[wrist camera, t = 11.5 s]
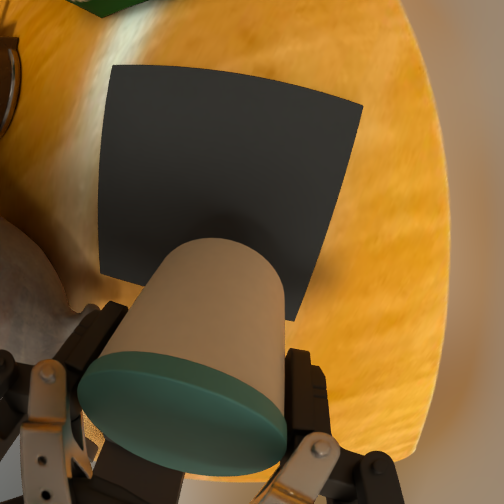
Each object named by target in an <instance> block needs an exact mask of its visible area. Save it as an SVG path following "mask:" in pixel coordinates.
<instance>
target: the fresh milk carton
mask: <svg viewBox="0 0 504 504" xmlns="http://www.w3.org/2000/svg"><path fill="white" fill-rule="evenodd" d="M66 1H68V2H70V3H73V4H75V5H77V6H79V7H81V8H83V9H85V10H87V11H89V12H91V13H93V14H95V15H97V16H98V17H100V18H103V17H106V16H108V15H110V14H113V13H115V12H118V11H120V10H123V9H125V8H128V7H131V6H133V5H136V4H139V3H142V2H145V1H148V0H66Z"/></svg>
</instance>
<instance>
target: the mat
mask: <svg viewBox="0 0 504 504" xmlns="http://www.w3.org/2000/svg"><path fill="white" fill-rule="evenodd" d="M362 110H363V105H360V104H357V103H354V102H352V101H349V100H345V99H342V98H339V97H336V96H333V95H330V94H326V93H323V92H319V91H316V90H312V89H308V88H305V87H301V86H297V85H293V84H288V83H284V82H280V81H275V80H270V79H266V78H261V77H255V76H250V75H244V74H238V73H232V72H225V71H217V70H209V69H200V68H190V67H178V66H160V65H113V66H112V70H111V75H110V80H109V86H108V92H107V98H106V105H105V112H104V120H103V129H102V138H101V149H100V163H99V183H98V241H99V261H100V273H101V274H103V275H107V276H110V277H113V278H117V279H120V280H124V281H127V282H131V283H134V284H138V285H141V286H146V284H147V283H148V282H149V280H150V279H151V277H152V276H153V274H154V273H155V272H156V270H157V269H158V267H159V266H160V265H161V263H162V262H163V260H164V259H165V258H166V257H167V256H168V254H169V253H170V252H171V251H173V250H174V249H176V248H177V247H179V246H180V245H182V244H184V243H187V242H190V241H192V240H197V239H202V238H221V239H227V240H232V241H235V242H238V243H241V244H243V245H245V246H248V247H249V248H251V249H253V250H255V251H256V252H257V253H259V254H260V255H261V256H263V257H264V258H265V259H266V260H267V261H268V262H269V263H270V264H271V265H272V267H273V268H274V269H275V271H276V272H277V274H278V276H279V278H280V280H281V283H282V285H283V290H284V299H285V320H289V321H295V318H296V316H297V313H298V310H299V308H300V305H301V303H302V300H303V297H304V295H305V292H306V289H307V287H308V284H309V281H310V278H311V276H312V273H313V270H314V267H315V265H316V262H317V259H318V256H319V253H320V250H321V247H322V244H323V242H324V239H325V236H326V233H327V230H328V227H329V224H330V221H331V217H332V214H333V211H334V208H335V205H336V202H337V199H338V195H339V192H340V189H341V186H342V182H343V179H344V176H345V172H346V169H347V165H348V162H349V158H350V155H351V151H352V148H353V144H354V140H355V137H356V133H357V129H358V126H359V122H360V118H361V114H362Z"/></svg>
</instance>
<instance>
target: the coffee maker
mask: <svg viewBox="0 0 504 504" xmlns="http://www.w3.org/2000/svg"><path fill="white" fill-rule="evenodd" d="M103 436H104V438H105V442H104V445H103V447H102V449H101V452H100V454H99V457H98V459H97V462H96V464H95V467H94V469H93V474H94V475H96V476H98V477H101V478H103V479H105V480H108V481H110V482H112V483H115V484H117V485H120V486H122V487H124V488H125V489H127V490H129V491H130V492H132V493H133V494H135V495H137V496H138V497H140V498H142V499H143V500H145V501H147V502H149V503H151V504H178V500H179V496H180V492H181V488H182V483H183V479H184V475H185V472H182V471H178V470H174V469H171V468H167V467H164V466H161V465H159V464H156V463H153V462H151V461H148V460H146V459H144V458H142V457H140V456H137V455H135V454H133V453H132V452H130V451H128V450H126V449H125V448H123V447H121V446H120V445H118V444H117V443H115V442H114V441H113V440H111V439H110V438H108V437H107V436H106V435H105V434H104V433H103Z"/></svg>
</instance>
